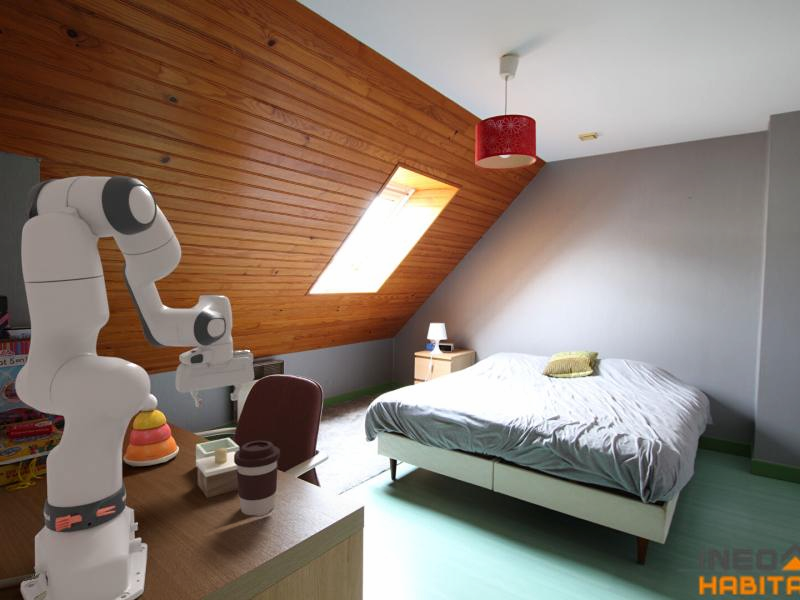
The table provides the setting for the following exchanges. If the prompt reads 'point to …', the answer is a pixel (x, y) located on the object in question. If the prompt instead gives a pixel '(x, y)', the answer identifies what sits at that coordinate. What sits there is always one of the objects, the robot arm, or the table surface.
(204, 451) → the planter
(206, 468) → the lid
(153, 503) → the table surface
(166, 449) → the stacking toy
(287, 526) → the table surface
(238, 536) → the table surface
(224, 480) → the box
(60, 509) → the robot arm
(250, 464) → the coffee cup
